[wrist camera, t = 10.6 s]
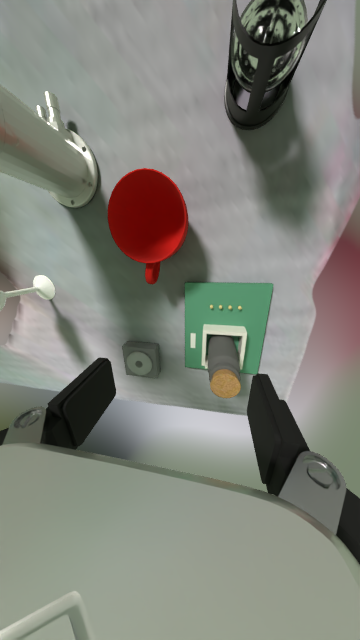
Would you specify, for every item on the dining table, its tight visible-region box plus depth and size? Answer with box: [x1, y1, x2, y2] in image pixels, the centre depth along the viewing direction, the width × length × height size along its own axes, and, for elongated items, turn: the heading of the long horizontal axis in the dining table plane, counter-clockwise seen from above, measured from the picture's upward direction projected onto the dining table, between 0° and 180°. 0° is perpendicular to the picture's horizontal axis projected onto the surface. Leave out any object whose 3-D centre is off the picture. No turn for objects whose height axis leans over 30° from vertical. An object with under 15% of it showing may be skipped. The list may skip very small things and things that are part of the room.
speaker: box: [122, 341, 160, 378], centre depth 46 cm, size 9×9×4 cm
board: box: [185, 282, 273, 374], centre depth 38 cm, size 22×18×6 cm
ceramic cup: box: [108, 168, 188, 284], centre depth 32 cm, size 13×17×10 cm
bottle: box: [208, 334, 241, 398], centre depth 34 cm, size 6×6×15 cm
